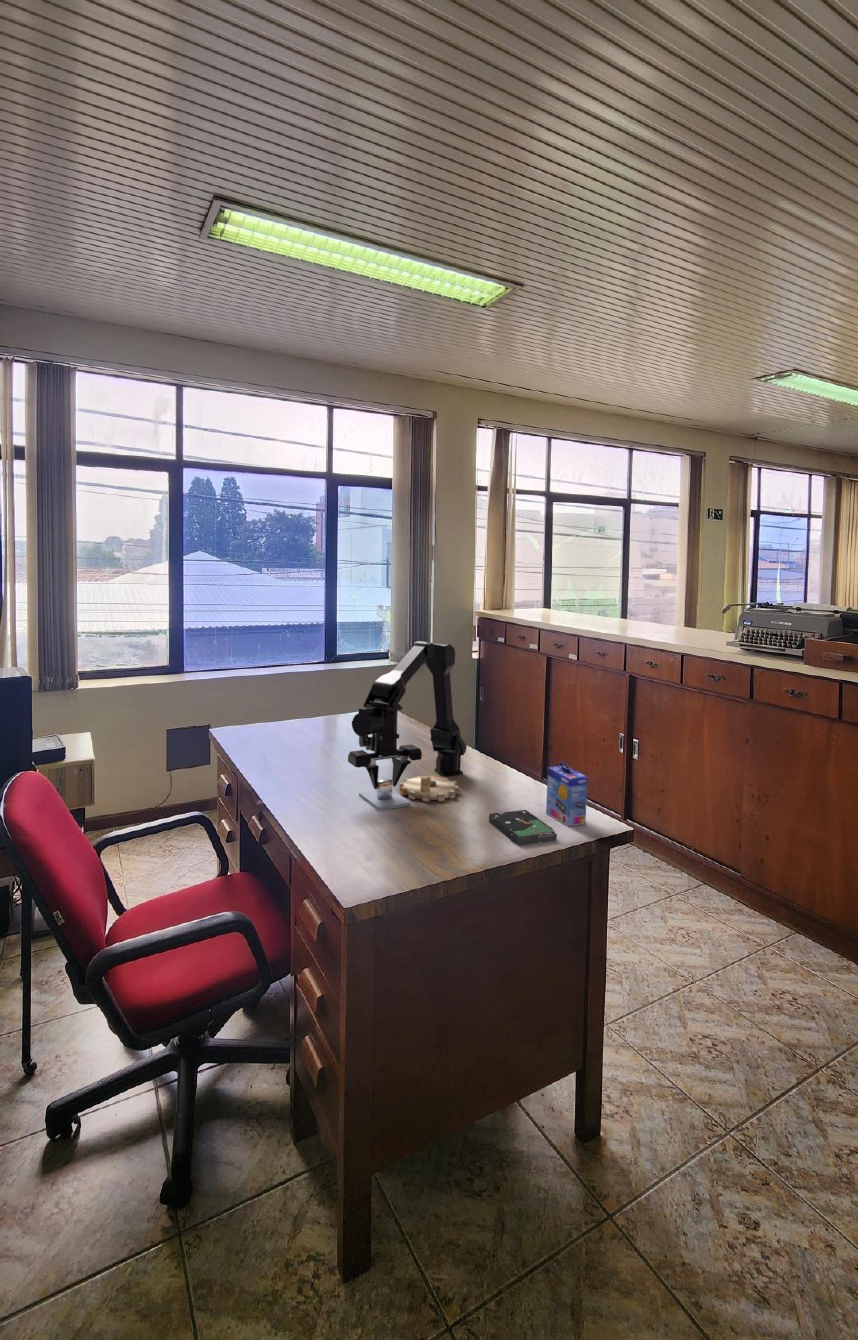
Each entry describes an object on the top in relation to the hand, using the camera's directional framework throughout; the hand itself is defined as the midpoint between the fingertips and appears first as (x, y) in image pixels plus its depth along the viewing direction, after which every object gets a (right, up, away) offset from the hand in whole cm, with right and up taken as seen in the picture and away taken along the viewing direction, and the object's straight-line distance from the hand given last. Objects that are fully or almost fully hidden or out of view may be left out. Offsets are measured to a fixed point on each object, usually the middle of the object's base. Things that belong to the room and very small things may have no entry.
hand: (384, 787), depth 174 cm
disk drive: (+33, -8, -17) cm, 38 cm away
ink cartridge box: (+45, -7, -8) cm, 46 cm away
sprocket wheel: (+12, -3, +8) cm, 14 cm away
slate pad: (0, -3, 0) cm, 4 cm away
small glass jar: (0, -3, 0) cm, 3 cm away
